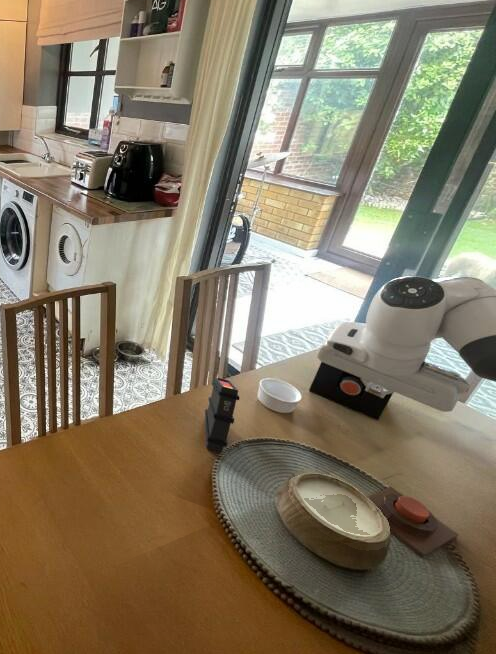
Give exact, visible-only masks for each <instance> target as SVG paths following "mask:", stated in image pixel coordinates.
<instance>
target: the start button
mask: <svg viewBox="0 0 496 654" xmlns="http://www.w3.org/2000/svg"><path fill="white" fill-rule="evenodd" d="M395 508H396V510H397V511H398V512H399V513H400V514H402V515H403V516H404V517H406V518H407V519H409V520H411V521H413V522H415V523H424V522H425V521H426V519H427V518H428V517H429V515H430V513H429V511H430V510H429V509H428V508H427V507H426V505H424V504H423V503H422V502H420V501H419V500H417V499H415V498H413V497H410V496H407V495H406V496H405V495H404V496H401V497H399V499H398V500H397V502H396V503H395ZM428 510H429V511H428Z"/></svg>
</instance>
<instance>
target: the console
mask: <svg viewBox="0 0 496 654" xmlns="http://www.w3.org/2000/svg"><path fill="white" fill-rule="evenodd" d="M347 376H353V377H356V378H358V379H360V380H361V378H360V377H357V376H355V375H353V374H350V373H348V372H345V371H343V370H341V369H338V368H336V367H333V366H331V365H328V364H326V363H323V362H321V361H320V364H319V366H318V369H317V371H316V374H315V375H314V378H313V379H312V382H311V385H310V387H309V389H308V391H309V392H311V393H313V394H316V395H318V396H320V397H323V398H324V399H326V400H327V399H328V400H329V401H332V402H334V403H337V404H339V405H341V406H343V407H346V408H347V409H351V410H353V411H355V412H357V413H360V414H362V415H364V416H367V417H369V418H371V419H373V420H375V421H379V420H380V418H381V416H382V415H383V412H384V411H385V409H386V407H387V405H388V403H389V402H390V400H391V398H392V396H393V394H394V393H391V394H386V395H385V396H384V398H381V397H379V396H377V395H374V394H372V393H370V392H367V391H365V389H366V386H365V385H364V383H363V382H362V381H361V382H362V383H363V387H362V389H361V392H360V393H359V394H357V395H349V394H347V393H345V392H344V391H342V389H341V387H340V384H341V382H342V380H343V378H345V377H347Z"/></svg>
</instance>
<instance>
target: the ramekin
mask: <svg viewBox="0 0 496 654" xmlns="http://www.w3.org/2000/svg"><path fill="white" fill-rule="evenodd" d="M258 386H259V387H258V390H257V391H258V392H257V399H258V401H259V402H260V403H261V404H262V405H263V406H264V407H266V408H267V409H269V410H271V411H274V412H276V413H280V414H289V413H292V412H293V411H294V410H295V409H296V407H297V405H298V404H299V403H300V402H301V400H303V399H302V398H303V396H302V393H301V392H300V390H298V389H297V387H295V386H294V385H292V384H290V383H288V382H286V381H284V380H281V379H278V378H273V377H266V378H263V379H261V380H260V381H259V383H258Z"/></svg>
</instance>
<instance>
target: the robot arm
mask: <svg viewBox="0 0 496 654" xmlns="http://www.w3.org/2000/svg"><path fill="white" fill-rule="evenodd" d="M436 339H443V340H444V341H445V342H446V343H447V344H448V345H449V346H450V347H452V349H453V350H454V351H456V353H458V355H459V357H460V358H461V359H462V361H464V362H465V364H466V365H467V366H468V367H469V368H470V370H472V372H473V373H474V374H475V375H476V376H477V377H479V378H482V379H484V380H488V381H491V382H495V383H496V289H495V288H493V286H491V285H490V284H487V283H486V282H485V281H484V280H482V279H480V278H476V277H470V276H451V277H442V278H436V279H435V278H434V279H431V278H429V277H425V276H419V275H418V276H417V275H407V276H401V277H396V278H394V279H391V280H389V281H387V282H386V283H384V285H382V286H381V287H380V288H379V289H378V291H377V292H376V293H375V295H374V297H373V298H372V300H371V302H370V305H369V307H368V311H367V313H366V317H365V323H363V322H362V323H361V322H357V321H356V322H354V321H351V320H350V321H349V320H342V321H340V323H338V324H337V325H336V327H334V329H332V331H331V333H330V334H329V335H328V336H327V338H326V339H325V340H324V342H323V343H322V344H321V346H320V347H319V349H318V351H317V354H316V357H317V359H318V360H319V361H320V363H321V362H323V363H326V364H328V365H331V366H333V367H336V368H338V369H341V370H343V371H345V372H348V373H350V374H353V375H355V376H357V377H360V378H361V381H362V382H363V383H364V385H365V386H366V389H365V391H367V392H370V393H372V394H374V395H377V396H379V397H381V398H384V396H385V395H386V394H391V393H393V394H394V393H396V394H398V395H400V396H402V397H403V396H404V397H405V398H408V399H411V400H413V401H416V402H418V403H421V404H423V405H425V406H428V407H429V408H433V409H435V410H437V411H439V412H443V413H448V412H452V411H454V409H455V407H456V405H457V403H458V401H459V400H460V397H461V395H462V394H465V393H467V392H468V391H469V389H470V388H471V383H470V381H468V380H467V379H466V378H464V377H463V376H461V374H460V373H457V372H455V371H452V370H448V369H444V368H442V367H441V366H438V365H435V364H432V363H429V362H427V361H426V358H427V356H428V354H429V352H430V350H431V344H432V342H433V340H436Z"/></svg>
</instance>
